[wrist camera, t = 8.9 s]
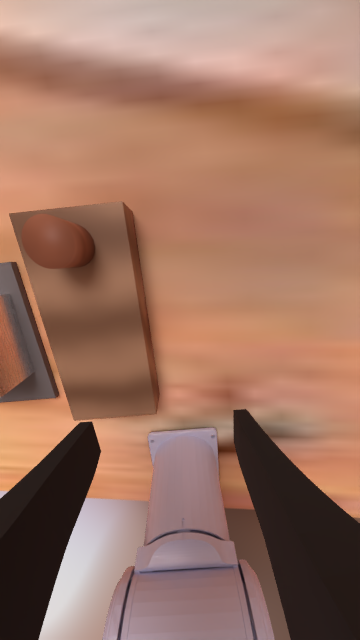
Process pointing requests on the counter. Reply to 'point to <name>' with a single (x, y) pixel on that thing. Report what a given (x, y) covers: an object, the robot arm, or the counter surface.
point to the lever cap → (12, 348)
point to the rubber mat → (27, 341)
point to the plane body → (92, 306)
